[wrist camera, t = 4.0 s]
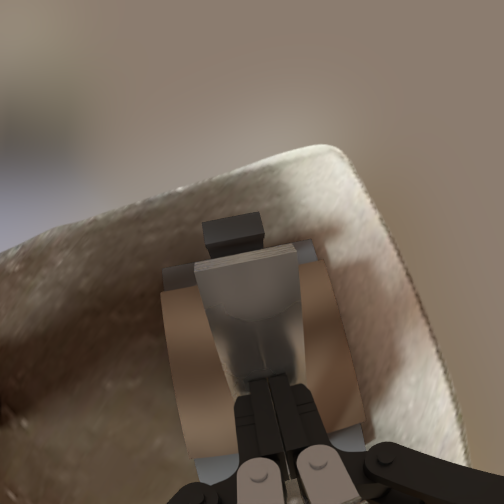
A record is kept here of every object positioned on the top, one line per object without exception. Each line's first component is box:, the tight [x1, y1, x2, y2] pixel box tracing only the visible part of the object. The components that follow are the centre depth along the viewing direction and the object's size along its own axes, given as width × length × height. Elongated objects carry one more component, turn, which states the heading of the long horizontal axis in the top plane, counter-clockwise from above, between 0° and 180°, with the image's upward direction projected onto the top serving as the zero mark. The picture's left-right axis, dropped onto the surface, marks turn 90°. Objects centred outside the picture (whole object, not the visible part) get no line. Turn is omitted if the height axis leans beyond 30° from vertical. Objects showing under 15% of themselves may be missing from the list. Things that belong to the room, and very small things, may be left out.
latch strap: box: [194, 243, 307, 475], centre depth 12 cm, size 16×3×1 cm
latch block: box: [160, 212, 366, 485], centre depth 21 cm, size 20×14×9 cm
